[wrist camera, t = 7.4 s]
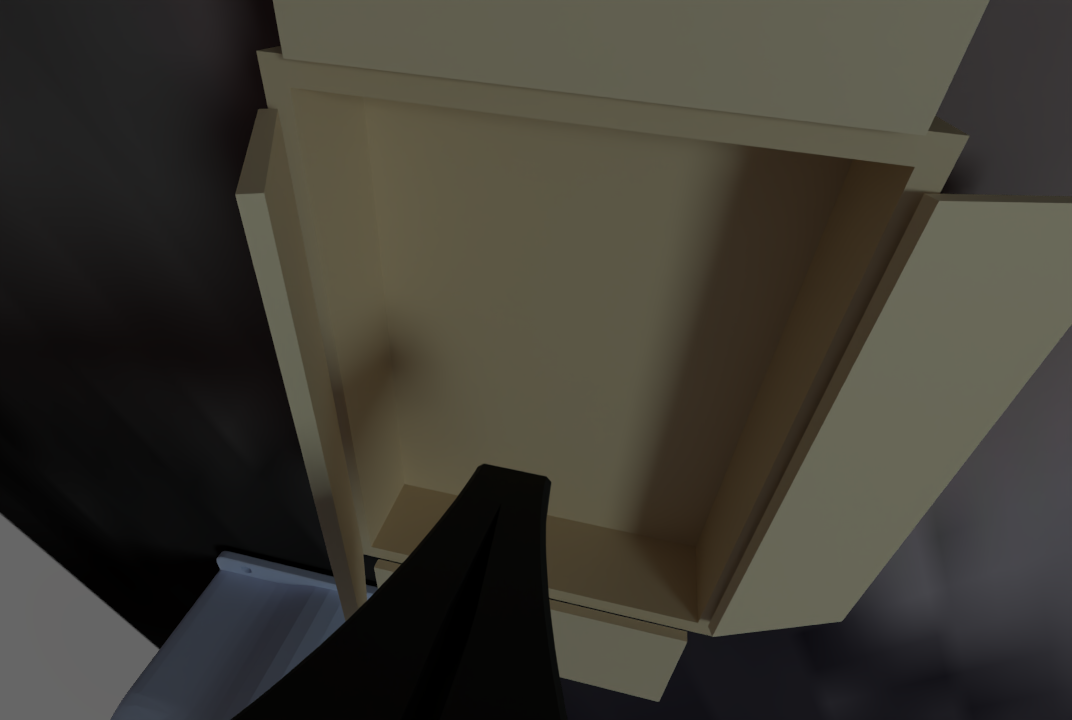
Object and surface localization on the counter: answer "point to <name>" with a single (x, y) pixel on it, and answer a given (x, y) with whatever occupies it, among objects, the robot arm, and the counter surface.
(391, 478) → the carton
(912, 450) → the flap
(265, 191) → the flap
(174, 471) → the counter surface
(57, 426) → the counter surface
